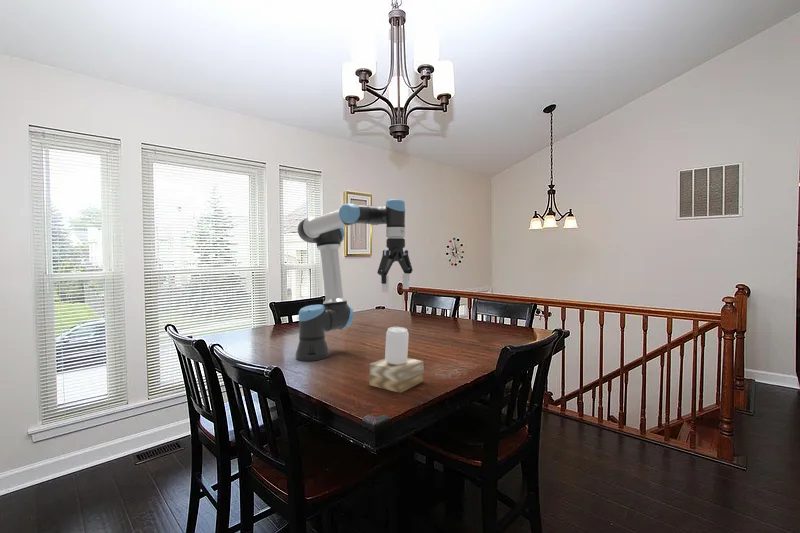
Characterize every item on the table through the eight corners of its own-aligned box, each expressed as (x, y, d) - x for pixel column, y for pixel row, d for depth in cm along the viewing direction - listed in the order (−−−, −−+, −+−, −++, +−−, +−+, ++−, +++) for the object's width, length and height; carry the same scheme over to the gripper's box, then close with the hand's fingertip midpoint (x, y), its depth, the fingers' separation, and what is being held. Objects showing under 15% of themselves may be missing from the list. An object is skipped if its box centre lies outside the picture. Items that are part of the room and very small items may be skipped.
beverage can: (384, 357, 144) (386, 326, 143) (406, 358, 145) (408, 326, 143) (384, 365, 136) (386, 332, 135) (407, 366, 137) (409, 333, 135)
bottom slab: (369, 386, 139) (369, 375, 139) (392, 375, 151) (392, 365, 151) (400, 394, 131) (400, 382, 131) (423, 382, 142) (422, 371, 142)
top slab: (369, 374, 140) (369, 363, 140) (394, 365, 151) (394, 355, 151) (400, 382, 131) (399, 370, 131) (423, 372, 142) (423, 361, 142)
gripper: (383, 237, 144) (383, 294, 145) (420, 238, 164) (420, 288, 165) (368, 237, 148) (368, 292, 150) (406, 238, 168) (406, 287, 169)
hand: (395, 290), depth 157 cm, fingers open, 13 cm apart
